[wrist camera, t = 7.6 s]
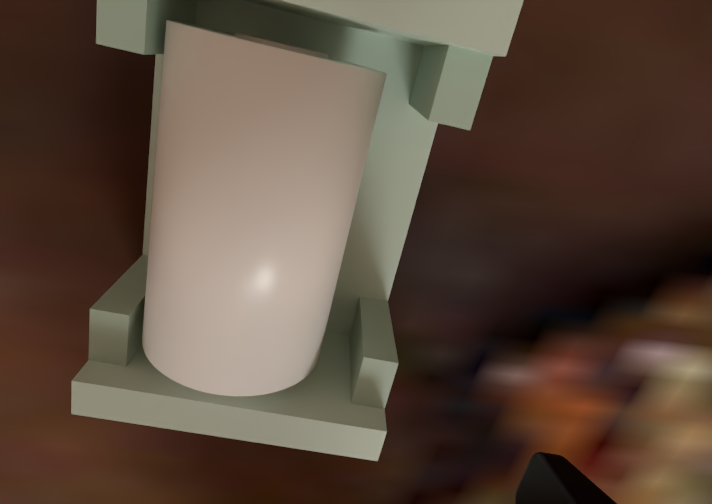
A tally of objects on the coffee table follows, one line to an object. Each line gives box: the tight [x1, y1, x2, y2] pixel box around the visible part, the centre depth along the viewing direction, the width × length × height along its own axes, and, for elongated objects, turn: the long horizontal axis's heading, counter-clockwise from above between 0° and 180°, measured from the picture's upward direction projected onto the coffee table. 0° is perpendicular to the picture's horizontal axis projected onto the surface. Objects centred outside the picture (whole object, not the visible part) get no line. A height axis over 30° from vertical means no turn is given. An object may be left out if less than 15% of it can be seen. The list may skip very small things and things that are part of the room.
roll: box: [142, 20, 387, 396], centre depth 14 cm, size 9×6×6 cm, turn 167°
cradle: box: [71, 0, 524, 461], centre depth 15 cm, size 13×9×6 cm
